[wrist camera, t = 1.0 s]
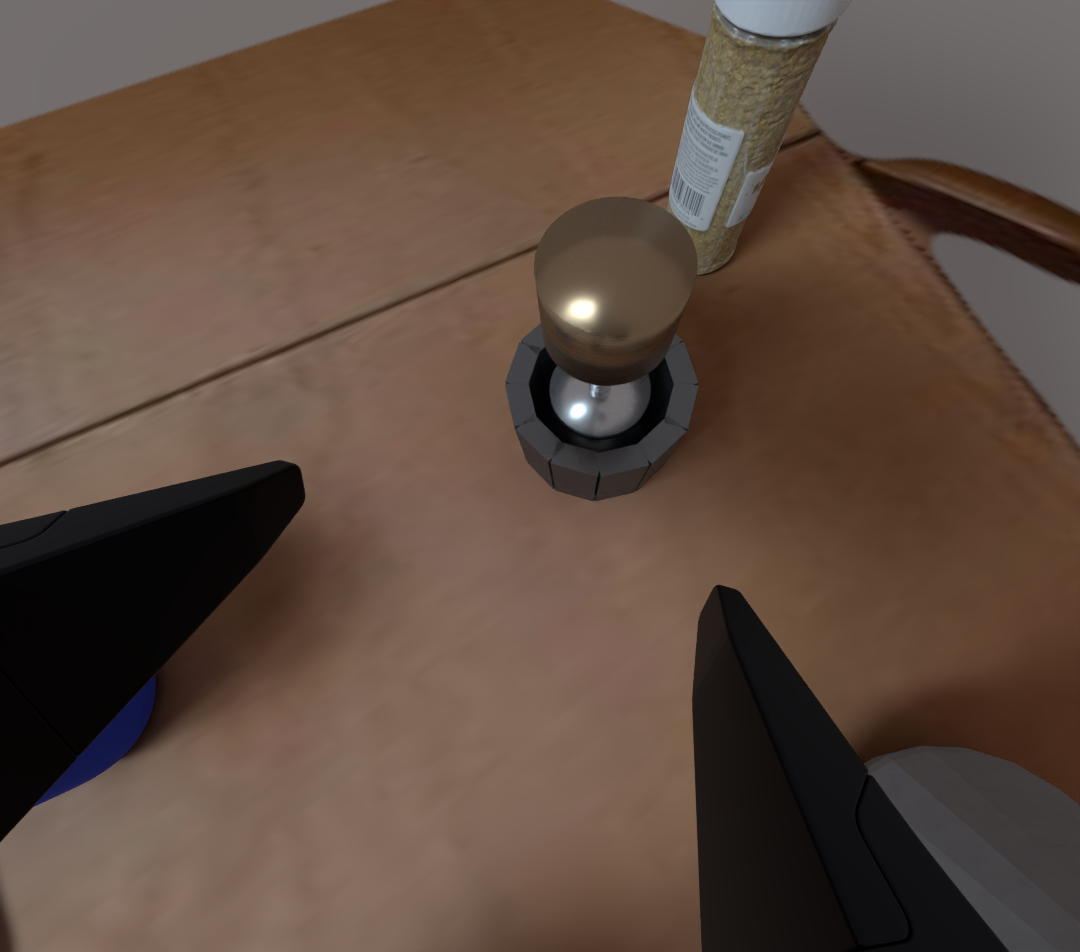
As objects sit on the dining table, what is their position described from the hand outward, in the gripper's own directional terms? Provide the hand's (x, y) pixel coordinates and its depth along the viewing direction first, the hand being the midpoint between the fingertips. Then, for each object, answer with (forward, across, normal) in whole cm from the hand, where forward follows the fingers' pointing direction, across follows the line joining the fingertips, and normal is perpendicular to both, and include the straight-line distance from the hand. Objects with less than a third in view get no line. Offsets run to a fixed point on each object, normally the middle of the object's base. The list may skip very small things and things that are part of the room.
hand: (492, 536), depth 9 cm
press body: (+16, -1, +4) cm, 16 cm away
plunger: (+12, -1, +1) cm, 13 cm away
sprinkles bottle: (+24, -4, -4) cm, 25 cm away
